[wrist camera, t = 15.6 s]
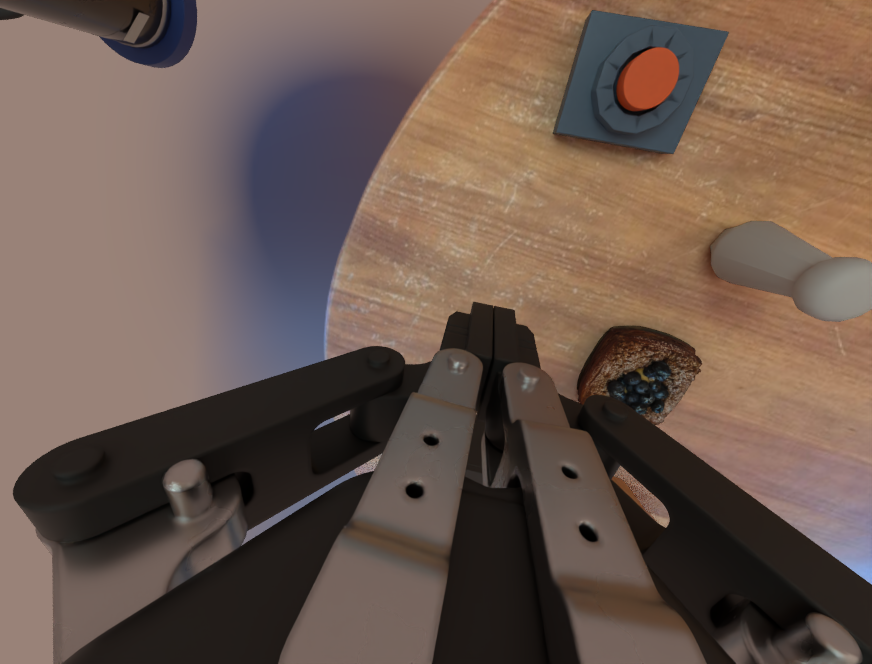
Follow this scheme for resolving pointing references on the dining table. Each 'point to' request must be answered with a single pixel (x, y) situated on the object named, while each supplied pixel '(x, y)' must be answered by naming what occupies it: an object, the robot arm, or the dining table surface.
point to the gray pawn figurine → (793, 270)
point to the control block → (600, 70)
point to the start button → (648, 79)
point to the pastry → (640, 370)
